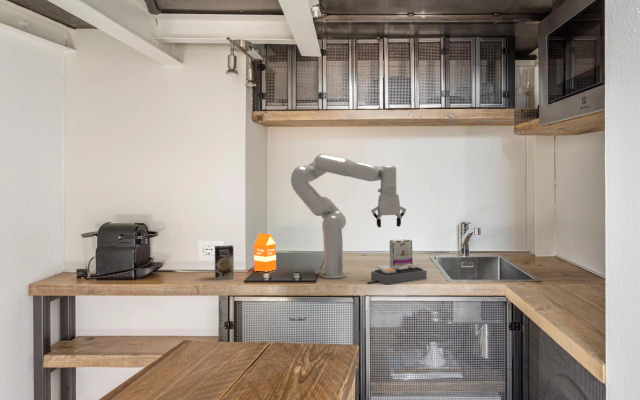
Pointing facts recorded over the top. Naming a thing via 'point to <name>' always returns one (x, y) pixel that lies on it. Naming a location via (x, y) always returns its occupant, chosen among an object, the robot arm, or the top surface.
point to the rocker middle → (399, 267)
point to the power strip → (398, 276)
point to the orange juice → (265, 253)
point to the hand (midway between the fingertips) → (388, 226)
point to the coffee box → (224, 262)
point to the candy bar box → (400, 252)
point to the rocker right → (412, 265)
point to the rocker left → (386, 269)
